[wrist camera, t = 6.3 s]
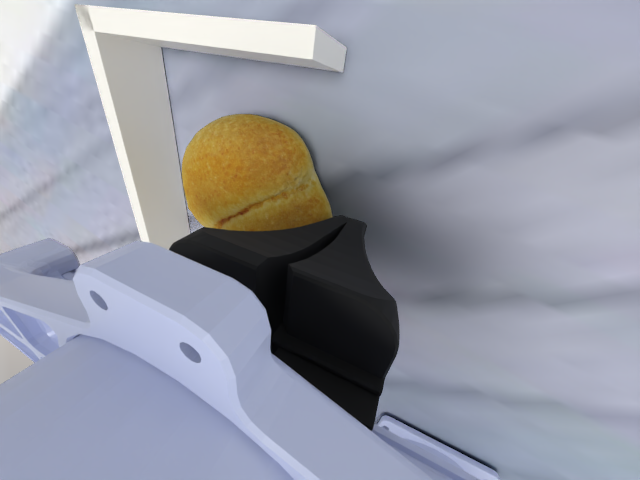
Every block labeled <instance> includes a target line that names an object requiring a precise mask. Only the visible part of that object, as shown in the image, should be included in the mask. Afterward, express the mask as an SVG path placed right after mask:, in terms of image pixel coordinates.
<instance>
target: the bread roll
mask: <svg viewBox="0 0 640 480" xmlns="http://www.w3.org/2000/svg"><path fill="white" fill-rule="evenodd" d="M182 180H183V187H184V191H185V196H186V200H187V203H188V208H189V210H190V211H191V212H192V213H193V215H194V216H195V218H196V219H197V220H198V221H199V222H200V224H202V225H203V226H204V227H208V228H216V229H225V230H235V231H272V230H283V229H290V228H296V227H301V226H305V225H308V224H312V223H316V222H319V221H323V220H326V219H329V218H332V217H333V216H332V212H331V207H330V204H329V201H328V199H327V196H326V194H325V192H324V190H323V189H322V186H321V184H320V182H319V179H318V176H317V174H316V172H315V169H314V166H313V162H312V159H311V156H310V153H309V151H308V149H307V147H306V145H305V143H304V141H303V139H302V138H301V137H300V136H299V135H298V133H297V132H295V131H294V130H293V129H291V128H290V127H288V126H286V125H284V124H282V123H280V122H277V121H275V120H272V119H269V118H265V117H262V116H258V115H252V114H235V115H228V116H224V117H221V118H219V119H217V120H215V121H213V122H211V123H209V124H208V125H206V126H205V127H204V128H202V129H201V130H200V131H198V132H197V133H196V134H195V136H194V137H193V139H192V140H191V142H190V143H189V145H188V146H187V148H186V151H185V154H184V157H183V162H182Z"/></svg>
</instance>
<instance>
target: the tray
mask: <svg viewBox="0 0 640 480" xmlns="http://www.w3.org/2000/svg"><path fill="white" fill-rule="evenodd" d="M75 8H76V12H77V15H78V19H79V22H80V26H81V29H82V33H83V36H84V40H85V43H86V47H87V50H88V54H89V57H90V61H91V65H92V68H93V72H94V75H95V79H96V82H97V86H98V89H99V93H100V96H101V100H102V103H103V107H104V110H105V114H106V118H107V121H108V125H109V128H110V132H111V135H112V139H113V142H114V146H115V149H116V153H117V156H118V160H119V163H120V167H121V171H122V174H123V178H124V181H125V185H126V188H127V192H128V195H129V199H130V202H131V206H132V209H133V213H134V216H135V220H136V224H137V227H138V231H139V234H140V238H141V241H142V242H150V243H153V244H156V245H158V246H161V247H163V248H165V249H168V250H169V248H170V247H171V245H172V244H173V243H174V242H176V241H178V240H180V239H182V238H183V237H185V236H187V235H189V234H190V228H189V222H188V216H187V209H186V203H185V197H184V190H183V184H182V177H181V171H180V165H179V158H178V152H177V145H176V139H175V133H174V126H173V120H172V114H171V107H170V101H169V94H168V88H167V82H166V75H165V69H164V62H163V56H162V50H161V47H164V48H171V49H178V50H185V51H192V52H199V53H207V54H214V55H221V56H228V57H235V58H242V59H249V60H257V61H264V62H271V63H278V64H285V65H292V66H300V67H307V68H314V69H321V70H328V71H335V72H342V73H343V70H344V64H345V57H346V51H347V47H345V46H344V45H343V44H341V43H340V42H338V41H337V40H336V39H334V38H333V37H331V36H330V35H329V34H327V33H326V32H325V31H323V30H322V29H320V28H319V27H318V26H316V25H307V24H296V23H284V22H273V21H261V20H250V19H238V18H227V17H215V16H204V15H192V14H181V13H169V12H158V11H146V10H135V9H123V8H112V7H100V6H89V5H77V4H75Z"/></svg>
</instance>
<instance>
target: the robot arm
mask: <svg viewBox="0 0 640 480" xmlns="http://www.w3.org/2000/svg"><path fill="white" fill-rule="evenodd" d="M366 227H367V225H366V223H365V222H361V221H358V220H355V219H352V218H348V217H345V216H342V215H339V216H335V217H332V218H329V219H326V220H323V221H319V222H316V223H312V224H308V225H305V226H301V227H296V228H290V229H283V230H272V231H235V230H225V229H216V228H208V227H203V228H201V229H199V230H197V231H195V232H193V233H191V234H189V235H187V236H185V237H183V238H182V239H180V240H178V241H176V242H174V243H173V244H172V245H171V247H170V248H169V250H168V249H165V248H163V247H161V246H158V245H156V244H153V243H150V242H142V241H135V242H132V243H130V244H128V245H125V246H123V247H121V248H118V249H116V250H114V251H111V252H109V253H107V254H104V255H102V256H100V257H98V258H95V259H93V260H91V261H88V262H86V263H84V264H81V265H80V263H79V260H78V258H77V256H76V254H75V253H74V252H73V250H72V249H71V248H69V247H68V246H66V245H64V244H62V243H60V242H58V241H56V240H54V239H51V238H47V239H44V240H41V241H38V242H35V243H32V244H29V245H26V246H23V247H20V248H17V249H14V250H11V251H8V252H5V253H1V254H0V335H1V336H2V337H4V338H5V339H6V340H8V341H9V342H10V343H11V344H13V345H14V346H15V347H16V348H17V349H19V350H20V351H21V352H22V353H24V354H25V355H26V356H27V357H28V358H30V359H31V360H32V361H33V362H34V364H32V365H31V366H29V367H27V368H26V369H24V370H23V371H21V372H19V373H18V374H16V375H15V376H13V377H11V378H10V379H8V380H7V381H5V382H4V383H2V384H0V480H500V479H499V474H498V473H497V472H496V471H494V470H492V469H491V468H489V467H487V466H485V465H483V464H481V463H479V462H477V461H475V460H473V459H471V458H469V457H467V456H465V455H463V454H461V453H459V452H458V451H456V450H454V449H452V448H450V447H448V446H446V445H444V444H442V443H440V442H438V441H436V440H434V439H432V438H430V437H428V436H427V435H425V434H423V433H421V432H419V431H417V430H415V429H413V428H411V427H409V426H407V425H405V424H403V423H401V422H399V421H397V420H395V419H394V418H392V417H390V416H386V415H384V416H382V417H381V419H380V421H379V422H378V424H375V423H374V422H375V417H376V411H377V406H378V401H379V396H380V395H381V393H382V390H383V385H384V380H385V377H386V375H387V373H388V371H389V369H390V367H391V365H392V363H393V361H394V359H395V357H396V355H397V351H398V347H399V319H398V311H397V304H396V301H395V300H394V298H393V297H392V296H391V295H390V294H389V293H388V292H387V291H386V290H385V289H384V288H383V286H382V285H381V284H380V282H379V281H378V280H377V278H376V276H375V275H374V273H373V271H372V269H371V266H370V264H369V261H368V258H367V255H366V250H365V244H364V234H365V231H366Z"/></svg>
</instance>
